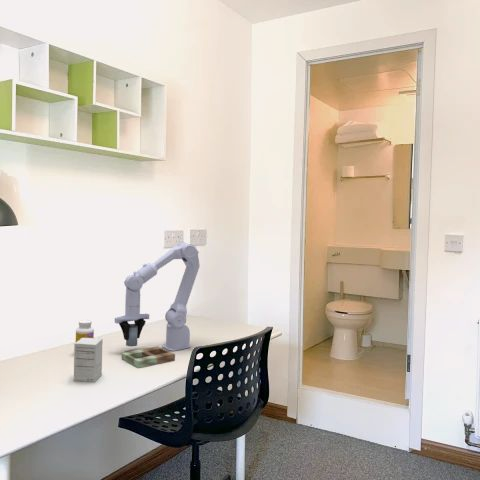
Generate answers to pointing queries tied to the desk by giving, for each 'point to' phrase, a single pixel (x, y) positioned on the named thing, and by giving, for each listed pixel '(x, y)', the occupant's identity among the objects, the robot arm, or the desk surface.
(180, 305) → the robot arm
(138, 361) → the rack
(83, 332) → the supplement bottle
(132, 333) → the tube
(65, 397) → the desk surface
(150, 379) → the desk surface
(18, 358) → the desk surface
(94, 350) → the supplement box
